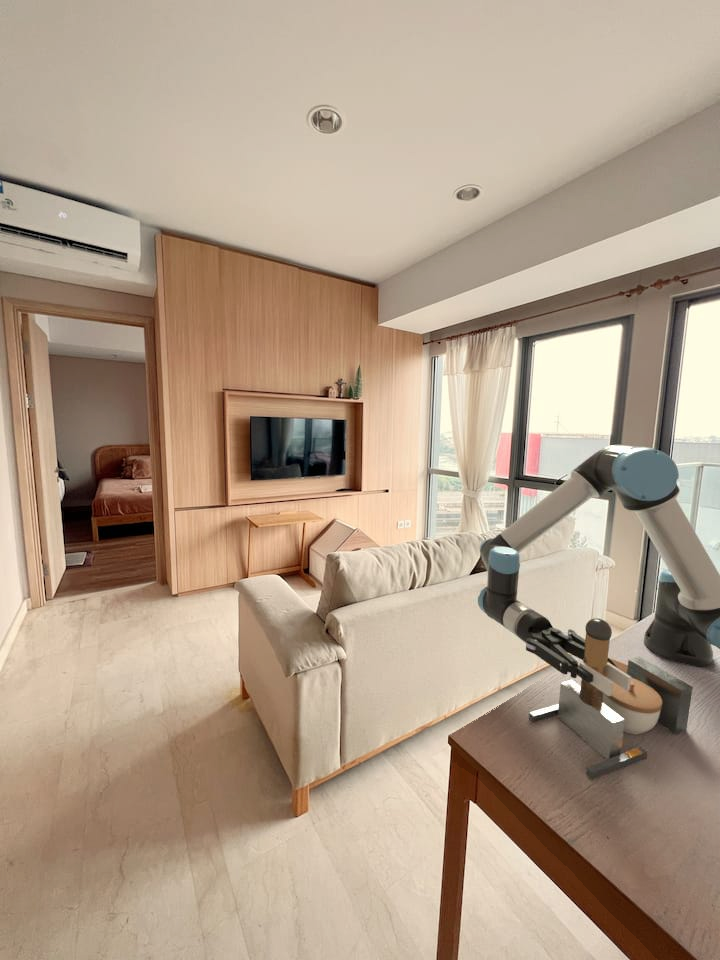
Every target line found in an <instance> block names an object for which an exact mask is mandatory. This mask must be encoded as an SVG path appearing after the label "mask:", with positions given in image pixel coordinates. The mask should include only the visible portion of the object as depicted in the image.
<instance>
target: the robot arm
mask: <svg viewBox="0 0 720 960" xmlns="http://www.w3.org/2000/svg"><path fill="white" fill-rule="evenodd" d="M570 473H571V474H570V477H569V478H568V479H566V480H565V481H564V482H563V483H562V484H559V486H558V487H557V488H555V489H554V490H552V492H550V493H549V494H548V495H546V496H545V497H544V498H543V499H542V500H540V501H539V502H537V503H536V504H535V505H534V506H532V507H531V508H530V509H529V510H528V511H526V512H525V513H524V514H523V515H522V516H520V517H519V518H518V519H516V520H515V521H514V522H513V523H512V524H510V525H509V526H508V527H506V528H505V529H504V530H503V531H501V532H500V533H499V534H497V535H496V536H495V537H489V538H486V539H484V540H483V541H482V542H481V543H480V546H479V554H480V555H479V556H480V558H481V561H482V562H483V564H484V566H485V569H486V571H487V585H486V586H485V587H484V588H482V589H481V590H480V592H479V595H478V597H477V605H478V607H479V609H480V610H481V612H483V613H485V614H486V616H487V617H489V618H490V619H492V620H493V621H495V622H496V623H498V624H500V625H502V626H503V627H504V628H505V629H506V630H508V631H509V632H511V633H512V634H513V635H515V636H516V637H517V638H518V639H520V640H522V641H523V642H524V643H525V651H526V652H529V653H532V654H534V655H535V656H537V657H538V658H540V659H541V660H542V661H544V662H545V663H547V664H549V666H550V667H552V668H554V669H555V670H557V671H558V672H559V673H561V674H562V675H567V674H568V673H570V678H572V679H576V678H577V676H578V677H579V678H580V679H581V678H582V679H583V680H585V681H586V682H588V683H590V684H592V685H593V686H595V687H596V688H597V689H599V690H600V691H602V692H603V693H604V694H606V695H607V696H612V688H613V682H614V683H616V684H617V685H619V686H620V687H622V688H623V689H625V690H626V691H628V690H630V685H631V676H629V675H628V674H626V673H624V672H623V671H621V670H620V669H618V668H617V667H616V666H614V665H612V664H611V663H609V662H608V661H607V668H606V677H607V678H606V677H605V676H603V675H602V674H600V673H599V672H597V671H596V670H594V669H593V668H591V667H590V666H588V665H587V664H585V663H584V662H583V657H584V648H585V638H583V636H581V635H578V633H577V632H576V631H575V630H573V629H567V632H563V631H562V630H560V629H557V628H555V627H554V626H553V625H552V623H551V622H550V620H549V619H548V618H547V617H545V616H544V615H542V614H540V613H539V612H537V611H535V609H532V608H531V607H529V606H527V605H525V604H523V603H522V602H520V600H518V598H517V597H518V585H519V577H520V576H519V575H520V574H519V573H520V569H521V568H520V567H521V563H520V557H521V556H520V553H522V552H523V551H524V550H525V549H526V548H528V547H530V546H531V545H532V544H533V543H535V542H536V541H537V540H539V539H540V538H541V537H542V536H544V535H545V534H546V533H548V532H549V531H550V530H552V529H553V528H554V527H555V526H557V525H558V524H559V523H560V522H562V521H563V520H565V519H566V518H567V517H568V516H570V515H571V514H572V513H573V512H575V511H576V510H577V509H578V508H580V507H581V506H582V505H584V504H585V503H587V502H588V501H590V500H591V499H592V498H595V499H597V498H600V497H601V496H603V494H605V493H607V492H609V491H611V490H612V491H614V493H615V495H616V496H617V498H618V499H619V501H620V503H621V505H622V506H623V509H625V510H626V511H629V512H632V513H635V514H636V516H637V518H638V520H639V522H640V523H641V525H642V526H643V528H644V530H645V531H646V533H647V535H648V538H649V539H650V541H651V542H652V543H653V546H654V547H655V548H656V550H657V552H658V554H659V556H660V558H661V559H662V561H663V562H664V565H665V566H666V568H667V569H664V570H663V571H661V573H660V576H659V578H658V580H657V581H658V588H657V593H656V594H657V595H656V603H655V604H656V605H655V612H654V618H653V620H652V621H651V623H650V624H649V626H648V627H647V629H646V630H645V632H644V636H643V643H644V646H646V648H648V649H649V650H650V651H651V652H653V653H655V654H656V655H658V656H661V658H664V659H667V660H669V661H671V662H672V661H673V662H675V663H678V664H682V665H686V666H691V667H692V666H693V667H707V666H710V665H711V664H712V663H713V659H714V658H713V657H714V651H713V647H716V648H718V649H719V650H720V573H719V571H718V569H717V567H716V565H715V564H714V562H713V560H712V559H711V557H710V556H709V554H708V552H707V550H706V548H705V547H704V545H703V543H702V541H701V540H700V538H699V536H698V534H697V533H696V531H695V529H694V528H693V526H692V524H691V522H690V520H689V519H688V517H687V516H686V514H685V512H684V511H683V509H682V507H681V505H680V503H679V502H678V500H677V498H678V496H679V494H680V488H679V486H678V483H677V481H678V480H679V477H680V476H679V468H678V466H677V463H676V462H675V461H674V460H673V459H672V457H670V455H668V454H667V453H665V452H663V451H661V450H658V449H657V448H652V447H648V446H633V445H627V444H613V445H608V446H605V447H604V448H602V449H599V450H598V451H596V452H595V453H594V454H592V455H590V456H589V457H588V458H587V459H585V460H584V461H583V462H581V463H580V464H579V465H578V466H576V467H575V468H574V469H572V471H571V472H570ZM573 656H574V657H576V658H577V659H579V660H581V662H579V661H578V660H577V659H576V658H574V657H573ZM609 679H610V680H609ZM612 681H613V682H612Z"/></svg>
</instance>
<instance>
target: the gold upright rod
mask: <svg viewBox="0 0 720 960" xmlns="http://www.w3.org/2000/svg"><path fill="white" fill-rule="evenodd" d="M612 632H613V631H612V628H611V626H610V624H609V623H608V622H607V621H606V620H604V619H601V618H596V617H594V618H591V619H589V620H588V621H587V622H586V623H585V638H584V639H585V648H584V657H583V660H582V662H584V663H585V664H587V665H588V666H590V667H591V668H593V669H594V670H596V671H597V672H599V673H600V674H602V675H603V676H605V677H606V668H607V660H608V658H609V649H610V642H611V637H612ZM559 687H560V688H559V699H558V704H559V706H558V715H557V717H558V718H559V720H561V721H562V722H563V723H564V724H565V725H566V726H568V728H570V729H571V730H573V732H575V733H576V734H577V735H578V736H579V737H580V738H581V739H583V740H584V741H585V742H586V743H587V744H588V745H590V746H591V747H592V748H593V749H594V750H595V751H596V752H597V753H599V754H600V755H601V756H602V757H603V758H605V760H607V759H610V758H613V757H615V756H618V755H621V754H622V753H621V752H622V746H623V745H622V744H623V738H624V731H623V730H624V722H625V719H624V718H622V717H621V716H620V715H618V714H617V713H616V712H614V711H613V710H612V709H610V708H609V707H608V706H606V705H605V704H604V703H603V694H604V693H603V692H602V691H600V690H599V689H597V688H596V687H595V686H593V685H592V684H590V683H588V682H586V681H585V680H583V679H582V678H581V677H580V685H579V684H578V683H577V682H575V681H574V680H573V679H570V680H569V679H568V680H565V681H562V682H560V686H559Z"/></svg>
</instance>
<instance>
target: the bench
mask: <svg viewBox="0 0 720 960" xmlns="http://www.w3.org/2000/svg"><path fill="white" fill-rule="evenodd" d="M627 661H628V662H627V665H628V668H627V674H628V675H629V676H631V678H634V679H637V680H639V681H641V682H643V683H645V684H647V685H648V686H650V687H651V688H653V689H654V690H655V691H656V692H657V693H658V694H659V695H660V697H661V699H662V708H661V711H660V716H659V719H658V721H657V723H658V724H659V725H660V726H661V727H663V728H664V729H666V730H668V731H669V732H671V734H673V735H678V734H681V733H684V732H687V730H688V729H687V727H688V721H689V714H690V708H691V703H692V702H691V701H692V697H693V696H692V694H693V690H694V689H693V688H694V687H693V686H692V685H691V684H688V683H687V682H685V681H684V680H682V679H680V678H678V677H676V676H675V675H673V674H671V673H669V672H667V671H665V670H664V669H662V668H660V667H658V666H657V665H656V664H653V663H651V662H650V661H648V660H646V659H644V658H642V657H641V656H637V657H633V658H630V659H628V660H627ZM558 706H559V703H557V704H554V705H551V706H548V707H544V708H539V709H537V710H533V711H529V714H528V719H529V721H530V722H532V723H537V722H540V721H543V720H546V719H549V718H553V717H556V716H557V717H558ZM657 723H656V724H657ZM648 753H649V751H648V750H647V749H645V748H644V747H642V746H639V747H637V748H636V747H635V748H633V749H630V750H627V751H625V752H623V753H621V754H620V755H618V756H615V757H613V758H610V759H605V760H602V761H600V762H596V763H594V764H592V765H589V766H587V767H586V775H587V776H588V778H590V779H591V780H592V781H594V780H596V779H599V778H601V777H603V776H606V775H609V774H611V773H614V772H616V771H618V770H621V769H623V768H626V767H629V766H632V765H634V764H636V763H639V762H641V761H644V760H647V758H648Z"/></svg>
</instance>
